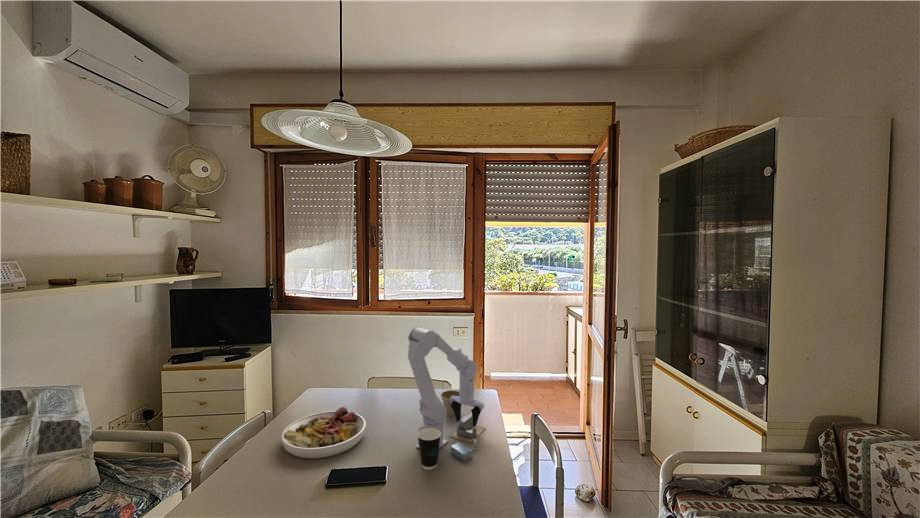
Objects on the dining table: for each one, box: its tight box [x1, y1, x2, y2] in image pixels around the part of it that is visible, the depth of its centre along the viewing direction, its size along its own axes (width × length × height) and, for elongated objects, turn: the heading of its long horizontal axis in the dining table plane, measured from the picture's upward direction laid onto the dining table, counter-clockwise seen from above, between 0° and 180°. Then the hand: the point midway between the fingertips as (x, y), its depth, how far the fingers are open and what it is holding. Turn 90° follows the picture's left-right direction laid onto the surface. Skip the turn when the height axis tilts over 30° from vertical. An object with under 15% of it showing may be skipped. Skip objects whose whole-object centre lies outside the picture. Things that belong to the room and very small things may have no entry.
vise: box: [450, 438, 479, 462], centre depth 136 cm, size 9×7×4 cm
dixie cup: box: [417, 428, 441, 471], centre depth 128 cm, size 8×8×11 cm
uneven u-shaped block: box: [456, 411, 476, 440], centre depth 151 cm, size 11×7×5 cm, turn 149°
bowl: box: [281, 406, 367, 459], centre depth 145 cm, size 30×30×8 cm
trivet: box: [449, 425, 487, 444], centre depth 150 cm, size 13×9×1 cm
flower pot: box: [440, 389, 459, 417], centre depth 167 cm, size 9×9×9 cm
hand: (466, 422), depth 152 cm, fingers open, 7 cm apart
